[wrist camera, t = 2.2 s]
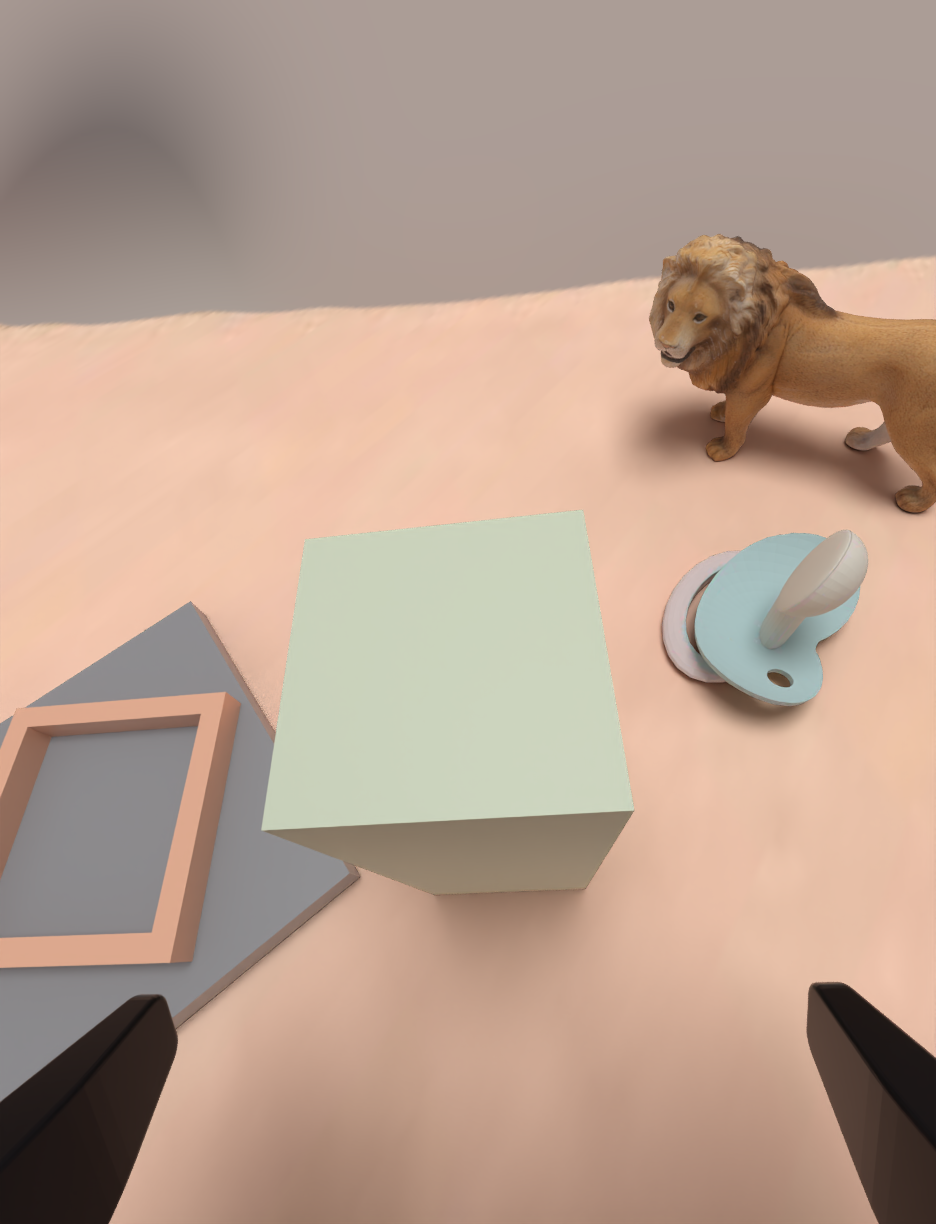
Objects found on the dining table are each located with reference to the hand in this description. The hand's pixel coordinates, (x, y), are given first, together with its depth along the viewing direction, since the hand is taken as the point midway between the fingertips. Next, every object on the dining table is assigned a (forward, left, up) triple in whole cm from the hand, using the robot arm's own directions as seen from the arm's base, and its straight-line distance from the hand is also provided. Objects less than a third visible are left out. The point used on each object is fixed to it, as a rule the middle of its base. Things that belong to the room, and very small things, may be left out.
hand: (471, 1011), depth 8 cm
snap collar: (-9, +12, -10) cm, 18 cm away
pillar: (+3, +4, -11) cm, 12 cm away
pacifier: (+15, +3, -12) cm, 19 cm away
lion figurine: (+23, +8, -11) cm, 27 cm away
